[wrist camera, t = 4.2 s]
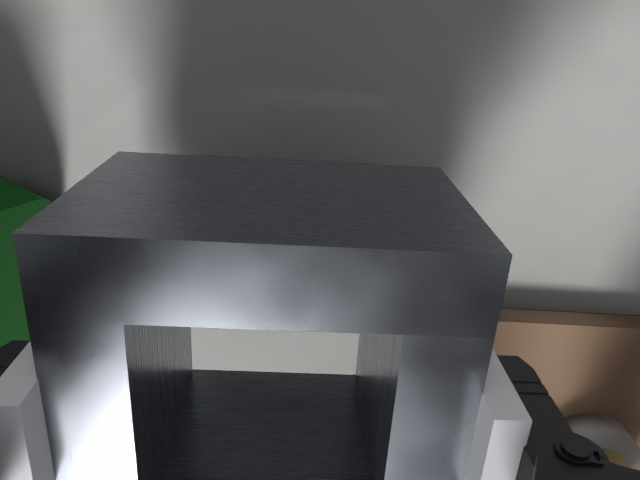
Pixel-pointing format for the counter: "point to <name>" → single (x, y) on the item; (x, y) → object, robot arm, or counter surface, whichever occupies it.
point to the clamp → (14, 257)
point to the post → (584, 371)
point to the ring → (259, 318)
